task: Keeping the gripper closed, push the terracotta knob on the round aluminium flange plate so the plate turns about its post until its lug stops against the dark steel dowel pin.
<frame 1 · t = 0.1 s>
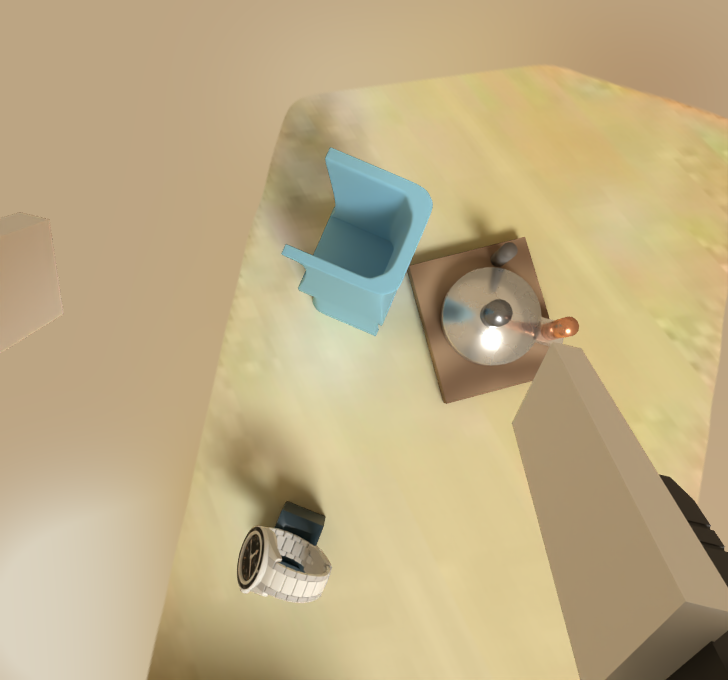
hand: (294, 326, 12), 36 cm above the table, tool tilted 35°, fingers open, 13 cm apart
blue tall hollow container: (356, 289, 49), on the table
watch: (294, 534, 46), on the table
base board: (482, 320, 48), on the table
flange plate: (509, 317, 44), point 5 cm above the table, hinge at 0.0°
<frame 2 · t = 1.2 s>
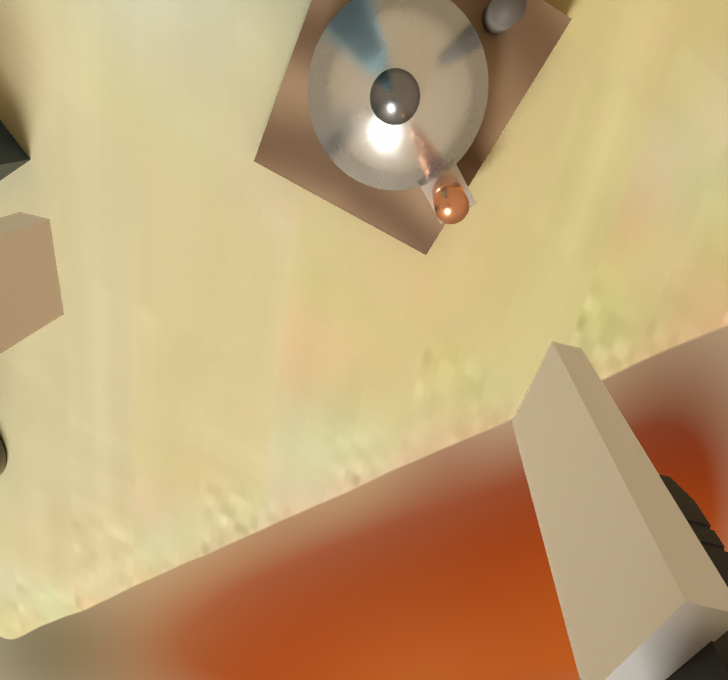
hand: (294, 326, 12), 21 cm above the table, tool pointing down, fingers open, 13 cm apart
base board: (398, 96, 28), on the table
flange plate: (407, 119, 24), point 5 cm above the table, hinge at 0.0°
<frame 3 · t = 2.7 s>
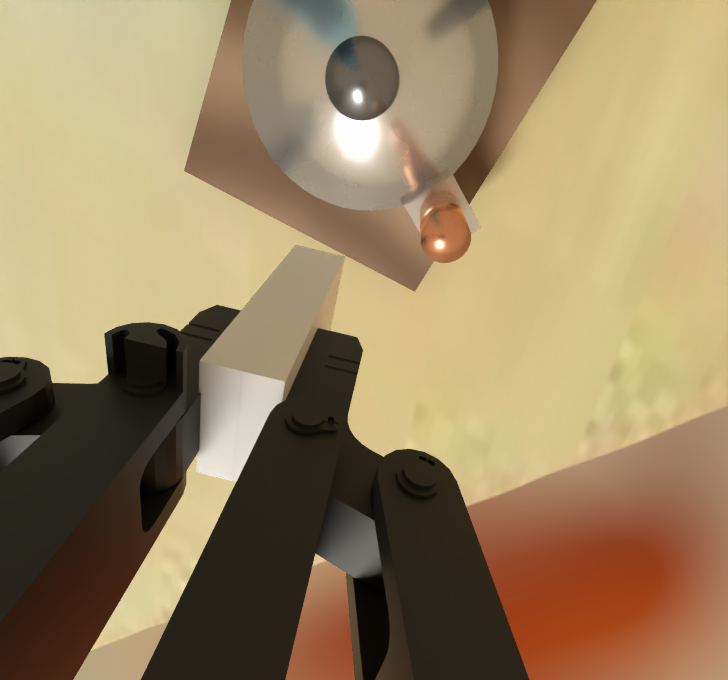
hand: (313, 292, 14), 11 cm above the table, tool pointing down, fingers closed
base board: (374, 83, 21), on the table
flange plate: (381, 112, 17), point 5 cm above the table, hinge at 0.0°
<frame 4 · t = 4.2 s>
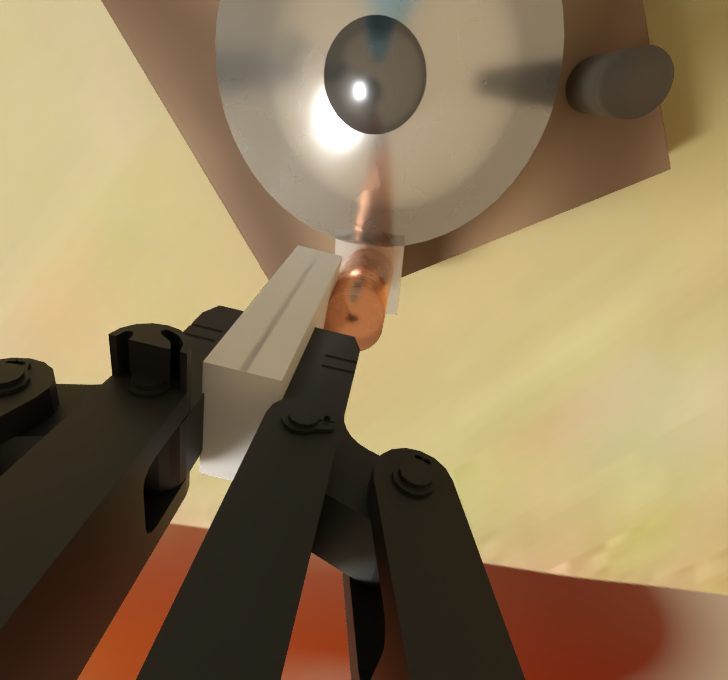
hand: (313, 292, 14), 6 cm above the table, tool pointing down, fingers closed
base board: (390, 81, 16), on the table
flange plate: (373, 130, 12), point 5 cm above the table, hinge at 0.4°, touching gripper
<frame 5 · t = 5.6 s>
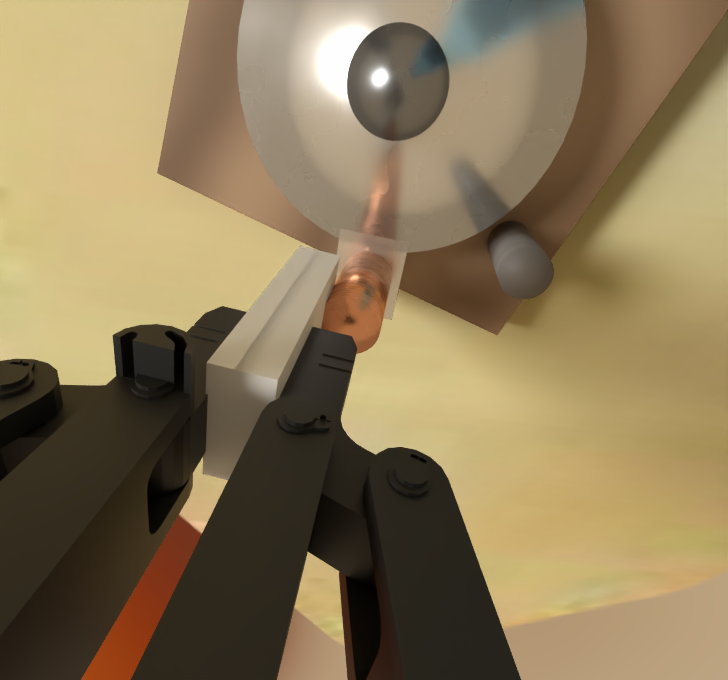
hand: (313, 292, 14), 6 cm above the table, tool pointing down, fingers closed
base board: (408, 88, 16), on the table
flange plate: (390, 135, 13), point 5 cm above the table, hinge at 44.4°, touching gripper
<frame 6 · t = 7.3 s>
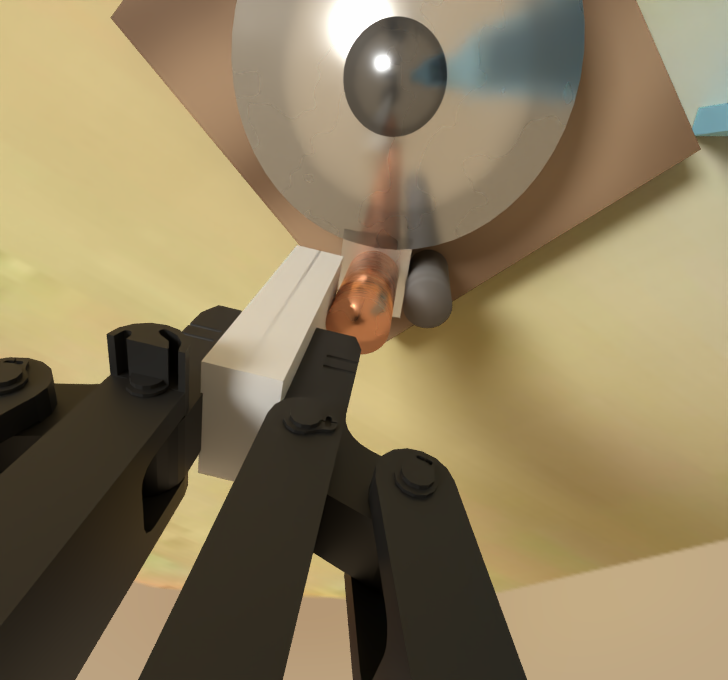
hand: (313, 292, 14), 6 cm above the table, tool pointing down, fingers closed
base board: (404, 83, 16), on the table
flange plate: (389, 132, 12), point 5 cm above the table, hinge at 75.2°, touching base board
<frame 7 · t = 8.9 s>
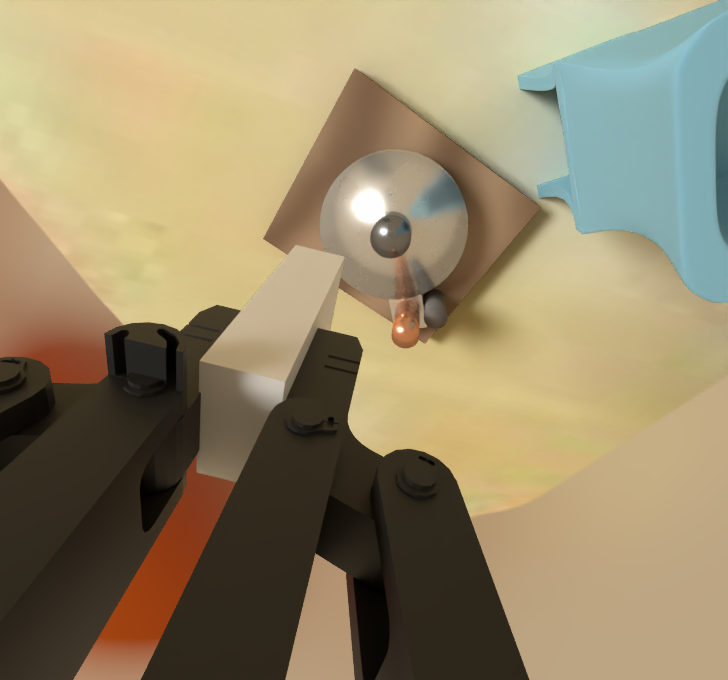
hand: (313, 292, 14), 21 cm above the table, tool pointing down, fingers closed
blue tall hollow container: (590, 118, 29), on the table
base board: (395, 219, 33), on the table
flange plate: (394, 254, 29), point 5 cm above the table, hinge at 75.2°, touching base board
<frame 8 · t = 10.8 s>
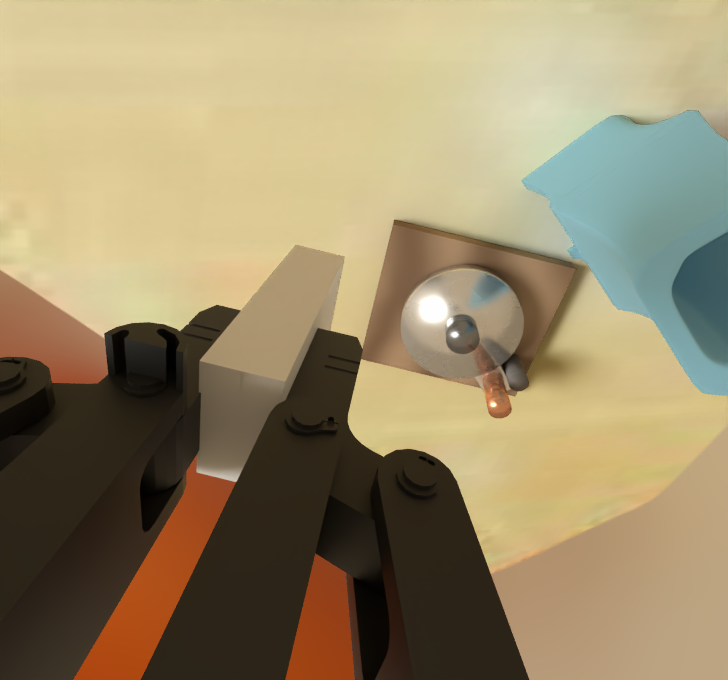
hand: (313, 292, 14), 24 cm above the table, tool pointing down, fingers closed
blue tall hollow container: (594, 187, 34), on the table
base board: (458, 310, 40), on the table
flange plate: (469, 347, 36), point 5 cm above the table, hinge at 75.2°, touching base board
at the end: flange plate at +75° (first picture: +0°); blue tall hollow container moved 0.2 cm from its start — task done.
